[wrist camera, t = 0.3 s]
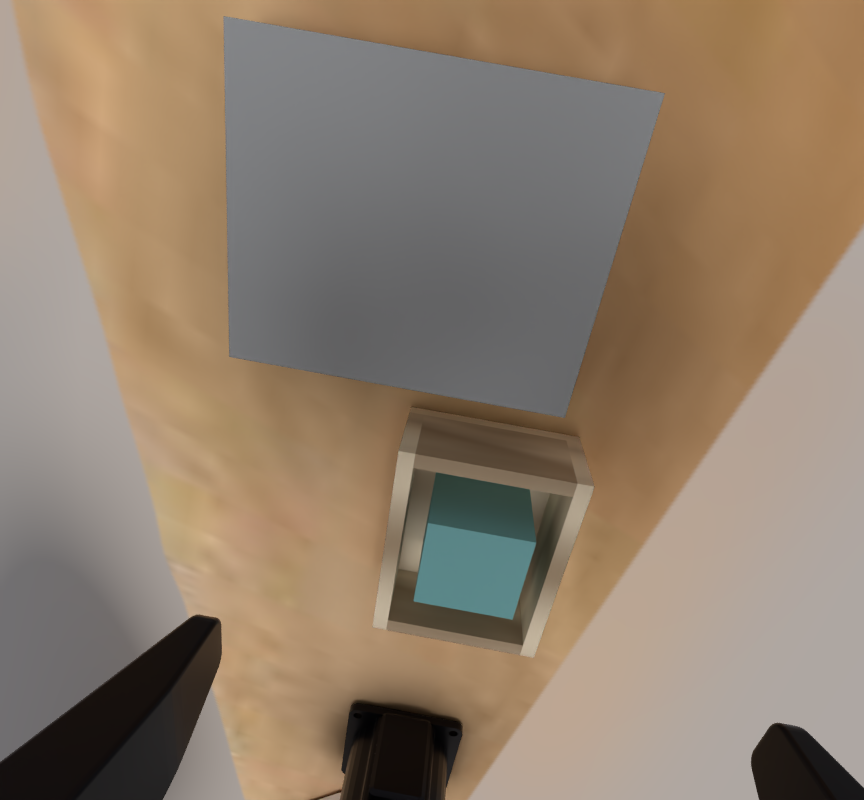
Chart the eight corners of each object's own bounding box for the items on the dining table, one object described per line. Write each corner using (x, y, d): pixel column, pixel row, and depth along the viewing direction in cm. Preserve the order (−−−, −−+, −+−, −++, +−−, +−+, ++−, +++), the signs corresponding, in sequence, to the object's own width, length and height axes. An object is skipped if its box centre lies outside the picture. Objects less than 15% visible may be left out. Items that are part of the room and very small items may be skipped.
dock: (556, 388, 21) (564, 417, 19) (256, 333, 21) (229, 356, 19) (640, 98, 16) (665, 93, 14) (259, 32, 17) (223, 16, 14)
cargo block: (509, 557, 24) (512, 619, 21) (422, 542, 24) (413, 601, 21) (529, 486, 23) (536, 542, 19) (436, 469, 23) (428, 522, 20)
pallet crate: (527, 587, 26) (533, 657, 23) (387, 561, 26) (372, 627, 23) (577, 431, 22) (594, 486, 19) (412, 401, 22) (398, 450, 19)
